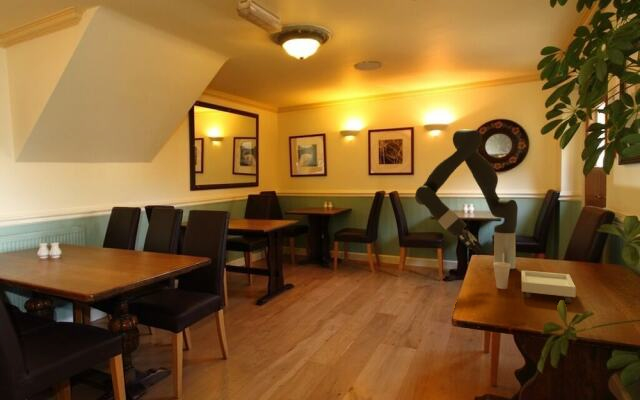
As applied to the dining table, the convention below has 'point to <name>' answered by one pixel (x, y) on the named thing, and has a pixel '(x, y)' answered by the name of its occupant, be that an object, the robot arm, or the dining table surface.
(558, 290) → the cart
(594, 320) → the dining table surface
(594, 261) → the dining table surface
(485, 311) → the dining table surface
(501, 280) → the smoothie
